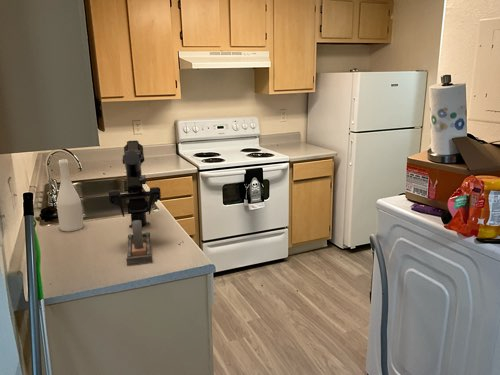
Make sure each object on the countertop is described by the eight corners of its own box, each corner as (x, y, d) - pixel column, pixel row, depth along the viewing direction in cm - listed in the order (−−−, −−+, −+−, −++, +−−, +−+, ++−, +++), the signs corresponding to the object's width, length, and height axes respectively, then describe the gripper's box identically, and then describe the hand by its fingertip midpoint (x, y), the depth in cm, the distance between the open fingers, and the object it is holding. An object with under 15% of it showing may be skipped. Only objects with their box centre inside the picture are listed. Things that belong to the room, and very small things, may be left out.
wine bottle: (64, 224, 180) (55, 158, 173) (86, 223, 181) (78, 157, 174) (56, 232, 171) (46, 162, 164) (80, 231, 172) (71, 161, 165)
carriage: (132, 249, 150) (129, 219, 147) (146, 247, 151) (143, 217, 148) (132, 256, 143) (129, 225, 140) (146, 255, 144) (143, 224, 142)
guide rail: (128, 240, 162) (127, 233, 161) (150, 238, 164) (149, 231, 163) (126, 265, 140) (126, 257, 139) (152, 262, 142) (151, 254, 141)
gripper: (106, 169, 149) (107, 207, 142) (158, 166, 154) (162, 202, 146) (110, 185, 159) (111, 221, 151) (159, 181, 163) (162, 216, 156)
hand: (136, 215), depth 151 cm, fingers open, 9 cm apart
